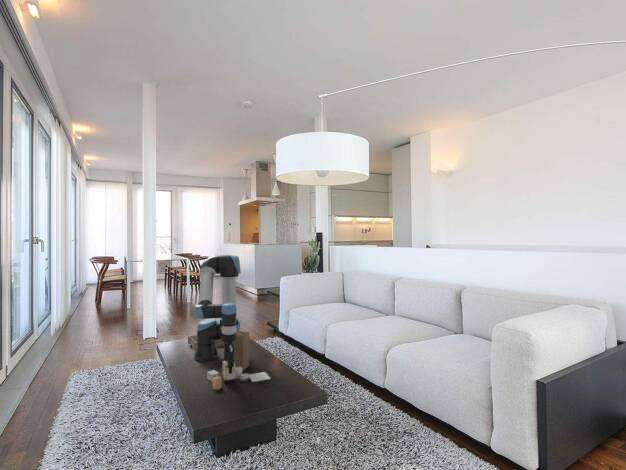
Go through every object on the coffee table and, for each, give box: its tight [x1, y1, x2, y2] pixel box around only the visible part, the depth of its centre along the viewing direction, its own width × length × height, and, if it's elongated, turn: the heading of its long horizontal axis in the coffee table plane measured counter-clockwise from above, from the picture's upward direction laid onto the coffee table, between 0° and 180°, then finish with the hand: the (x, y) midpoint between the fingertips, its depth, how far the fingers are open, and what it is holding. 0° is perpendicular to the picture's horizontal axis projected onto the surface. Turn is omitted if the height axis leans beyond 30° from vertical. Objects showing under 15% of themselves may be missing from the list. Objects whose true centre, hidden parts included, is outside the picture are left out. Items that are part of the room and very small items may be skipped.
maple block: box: [222, 360, 236, 381], centre depth 191 cm, size 6×6×8 cm
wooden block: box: [232, 331, 250, 372], centre depth 210 cm, size 10×10×20 cm
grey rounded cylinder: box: [235, 367, 243, 380], centre depth 196 cm, size 4×4×5 cm
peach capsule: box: [212, 375, 223, 391], centre depth 182 cm, size 4×4×5 cm
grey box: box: [206, 369, 220, 383], centre depth 193 cm, size 6×4×4 cm, turn 41°
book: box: [187, 334, 224, 351], centre depth 261 cm, size 30×22×5 cm
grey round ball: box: [238, 372, 250, 383], centre depth 192 cm, size 5×5×3 cm
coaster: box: [249, 371, 271, 383], centre depth 196 cm, size 10×10×1 cm
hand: (228, 376), depth 191 cm, fingers closed on maple block, 5 cm apart
